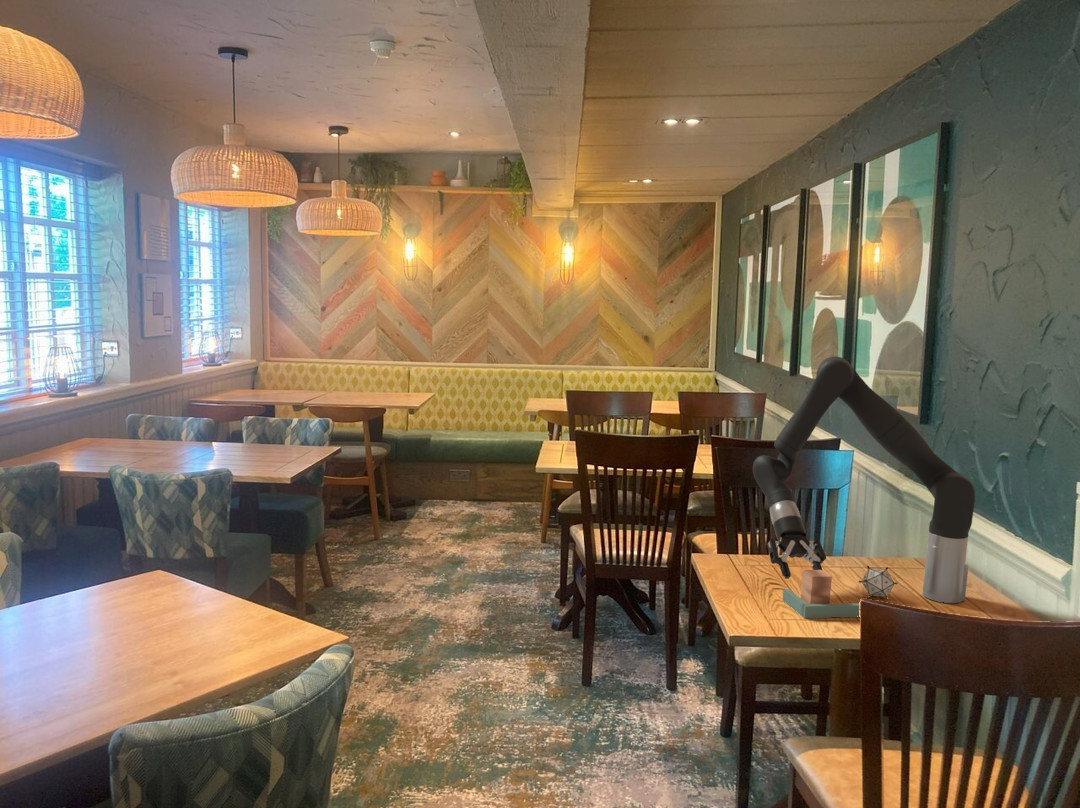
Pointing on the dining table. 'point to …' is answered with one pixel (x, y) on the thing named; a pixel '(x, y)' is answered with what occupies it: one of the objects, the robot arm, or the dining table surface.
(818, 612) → the wall
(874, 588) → the game die
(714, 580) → the dining table surface
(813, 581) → the terracotta block
